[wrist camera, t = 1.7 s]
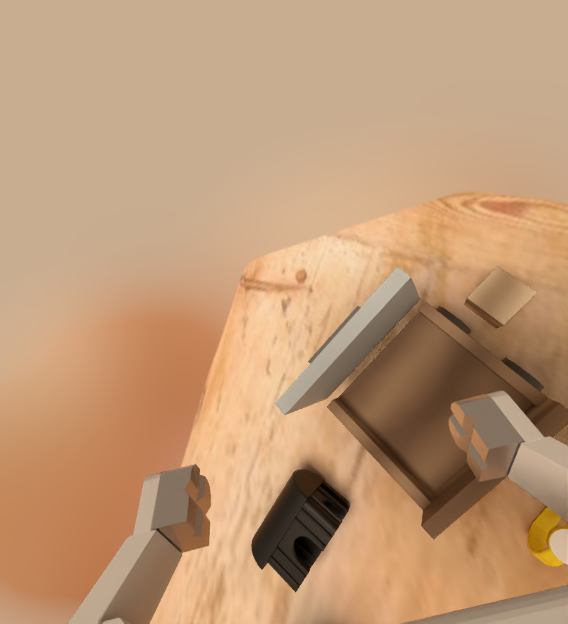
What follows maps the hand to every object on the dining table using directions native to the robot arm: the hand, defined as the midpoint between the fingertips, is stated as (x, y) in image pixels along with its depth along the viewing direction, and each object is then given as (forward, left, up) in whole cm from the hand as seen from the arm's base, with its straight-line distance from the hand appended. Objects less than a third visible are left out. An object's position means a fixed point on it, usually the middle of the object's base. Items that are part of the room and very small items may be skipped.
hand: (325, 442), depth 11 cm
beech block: (-1, -12, -32) cm, 34 cm away
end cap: (-3, +21, -32) cm, 39 cm away
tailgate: (+4, 0, -25) cm, 26 cm away
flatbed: (-3, 0, -32) cm, 32 cm away
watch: (-18, +1, -32) cm, 37 cm away
